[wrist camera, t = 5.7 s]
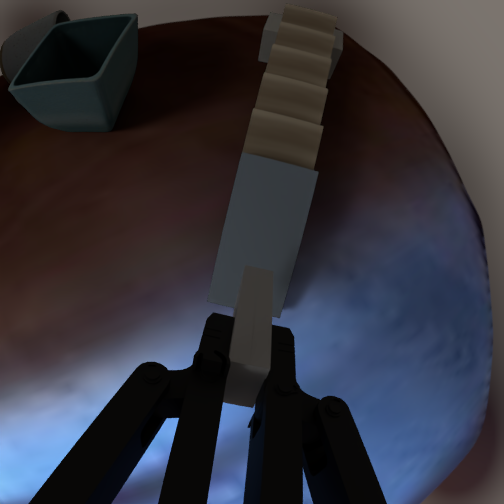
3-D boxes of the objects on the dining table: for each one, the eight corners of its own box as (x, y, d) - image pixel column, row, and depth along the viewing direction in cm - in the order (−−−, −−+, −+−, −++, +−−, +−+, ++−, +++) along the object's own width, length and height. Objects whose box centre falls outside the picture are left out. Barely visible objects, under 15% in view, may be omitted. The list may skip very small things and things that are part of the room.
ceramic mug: (26, 64, 27) (6, 25, 20) (80, 43, 29) (65, -2, 21) (10, 121, 25) (-21, 80, 18) (71, 97, 26) (47, 48, 19)
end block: (329, 79, 30) (342, 50, 25) (257, 60, 29) (263, 29, 25) (331, 59, 31) (342, 31, 27) (264, 41, 31) (270, 12, 26)
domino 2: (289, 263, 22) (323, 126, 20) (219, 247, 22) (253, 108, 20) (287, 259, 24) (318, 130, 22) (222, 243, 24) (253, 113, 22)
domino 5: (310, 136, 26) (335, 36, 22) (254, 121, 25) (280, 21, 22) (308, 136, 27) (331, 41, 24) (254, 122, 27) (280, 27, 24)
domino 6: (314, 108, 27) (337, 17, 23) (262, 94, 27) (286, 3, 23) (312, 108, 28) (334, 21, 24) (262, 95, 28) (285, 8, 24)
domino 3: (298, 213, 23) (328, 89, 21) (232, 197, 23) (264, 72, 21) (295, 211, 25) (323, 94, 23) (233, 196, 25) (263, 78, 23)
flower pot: (151, 80, 27) (139, 11, 19) (126, 150, 25) (98, 79, 16) (77, 83, 27) (53, 23, 18) (46, 149, 24) (5, 90, 16)
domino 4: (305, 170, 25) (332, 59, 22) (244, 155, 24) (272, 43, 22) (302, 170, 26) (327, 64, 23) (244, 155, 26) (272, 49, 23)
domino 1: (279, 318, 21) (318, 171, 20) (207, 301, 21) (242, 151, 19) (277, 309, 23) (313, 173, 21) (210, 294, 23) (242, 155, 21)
